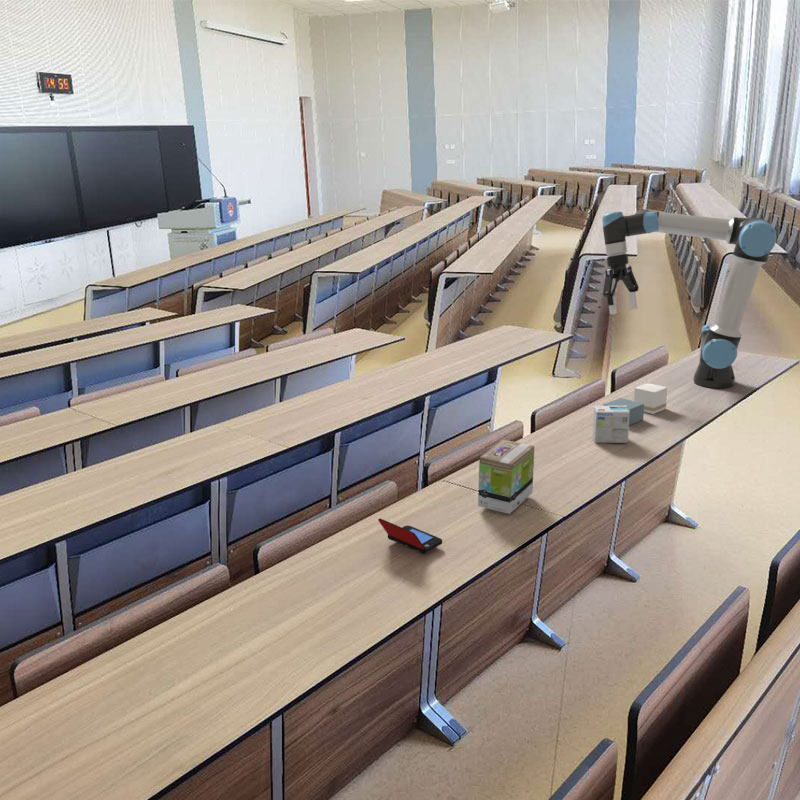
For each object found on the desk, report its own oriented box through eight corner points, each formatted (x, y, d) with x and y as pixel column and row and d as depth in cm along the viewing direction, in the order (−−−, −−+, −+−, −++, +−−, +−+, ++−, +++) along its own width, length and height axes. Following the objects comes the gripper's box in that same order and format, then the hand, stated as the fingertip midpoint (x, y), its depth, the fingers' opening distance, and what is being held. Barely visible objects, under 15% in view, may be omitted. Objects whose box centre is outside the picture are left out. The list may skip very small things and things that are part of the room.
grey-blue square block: (619, 413, 277) (620, 397, 275) (643, 419, 270) (644, 403, 268) (602, 419, 271) (603, 404, 269) (626, 426, 264) (627, 410, 262)
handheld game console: (444, 543, 192) (444, 517, 190) (415, 561, 185) (414, 533, 183) (407, 527, 201) (406, 501, 198) (377, 544, 193) (376, 517, 191)
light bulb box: (624, 435, 256) (627, 404, 253) (628, 443, 250) (630, 411, 246) (591, 435, 257) (593, 404, 254) (594, 443, 251) (596, 411, 247)
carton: (646, 403, 285) (647, 383, 283) (666, 408, 279) (667, 387, 277) (633, 409, 281) (634, 387, 278) (653, 414, 275) (654, 392, 272)
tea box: (511, 515, 205) (512, 463, 200) (477, 507, 210) (477, 456, 206) (533, 493, 217) (535, 444, 212) (500, 485, 222) (501, 437, 218)
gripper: (626, 253, 300) (633, 308, 303) (588, 259, 284) (596, 316, 287) (643, 250, 295) (650, 306, 297) (606, 256, 279) (613, 315, 281)
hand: (623, 311), depth 292 cm, fingers open, 13 cm apart
